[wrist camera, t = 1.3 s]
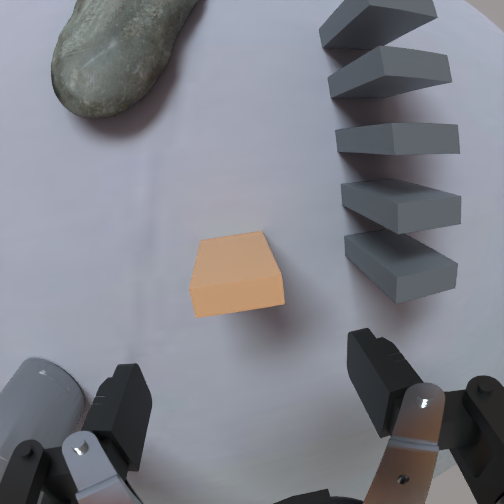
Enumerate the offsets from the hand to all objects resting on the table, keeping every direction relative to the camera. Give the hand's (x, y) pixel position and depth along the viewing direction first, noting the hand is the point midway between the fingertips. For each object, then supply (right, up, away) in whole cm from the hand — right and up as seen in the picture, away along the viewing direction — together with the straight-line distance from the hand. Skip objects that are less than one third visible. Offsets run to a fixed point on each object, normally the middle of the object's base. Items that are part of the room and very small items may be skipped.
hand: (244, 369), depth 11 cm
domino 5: (+10, +10, +14) cm, 20 cm away
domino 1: (-1, +5, +15) cm, 16 cm away
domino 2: (+8, +22, +10) cm, 26 cm away
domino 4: (+10, +14, +13) cm, 21 cm away
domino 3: (+9, +18, +12) cm, 23 cm away
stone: (-10, +22, +9) cm, 26 cm away
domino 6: (+11, +5, +16) cm, 20 cm away
